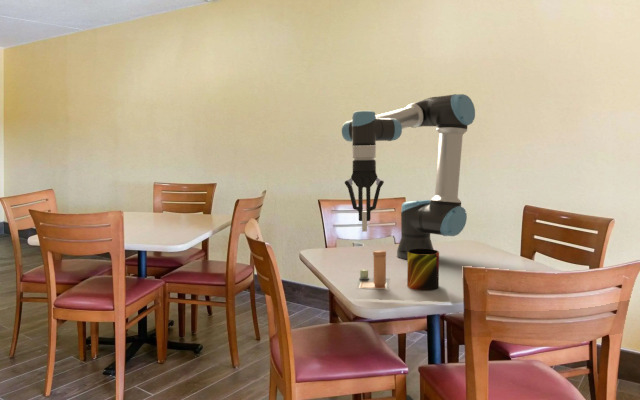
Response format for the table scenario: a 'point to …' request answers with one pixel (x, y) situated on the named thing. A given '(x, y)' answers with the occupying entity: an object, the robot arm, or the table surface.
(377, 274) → the orange tall block
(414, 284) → the mug
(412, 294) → the table surface
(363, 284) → the clipboard
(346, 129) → the robot arm
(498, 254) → the table surface
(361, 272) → the button
